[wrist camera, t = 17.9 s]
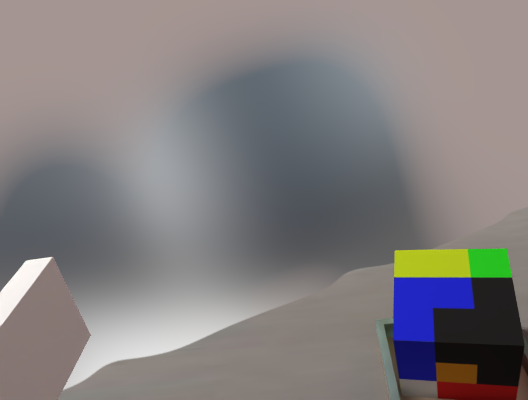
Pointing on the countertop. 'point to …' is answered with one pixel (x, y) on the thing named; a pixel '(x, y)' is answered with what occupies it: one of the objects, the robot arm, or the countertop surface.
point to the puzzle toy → (456, 324)
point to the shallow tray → (526, 387)
